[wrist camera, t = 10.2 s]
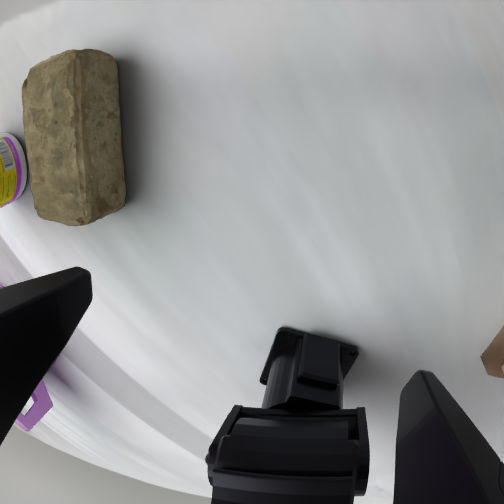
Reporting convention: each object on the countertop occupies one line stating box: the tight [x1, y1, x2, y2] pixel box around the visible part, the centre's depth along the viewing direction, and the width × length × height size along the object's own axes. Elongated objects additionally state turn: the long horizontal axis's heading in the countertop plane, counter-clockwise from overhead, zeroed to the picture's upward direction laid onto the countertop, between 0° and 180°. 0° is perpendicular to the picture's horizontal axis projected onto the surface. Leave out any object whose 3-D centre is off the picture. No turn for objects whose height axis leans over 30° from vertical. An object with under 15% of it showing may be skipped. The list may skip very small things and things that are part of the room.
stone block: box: [22, 49, 126, 226], centre depth 18 cm, size 6×12×5 cm, turn 1°
